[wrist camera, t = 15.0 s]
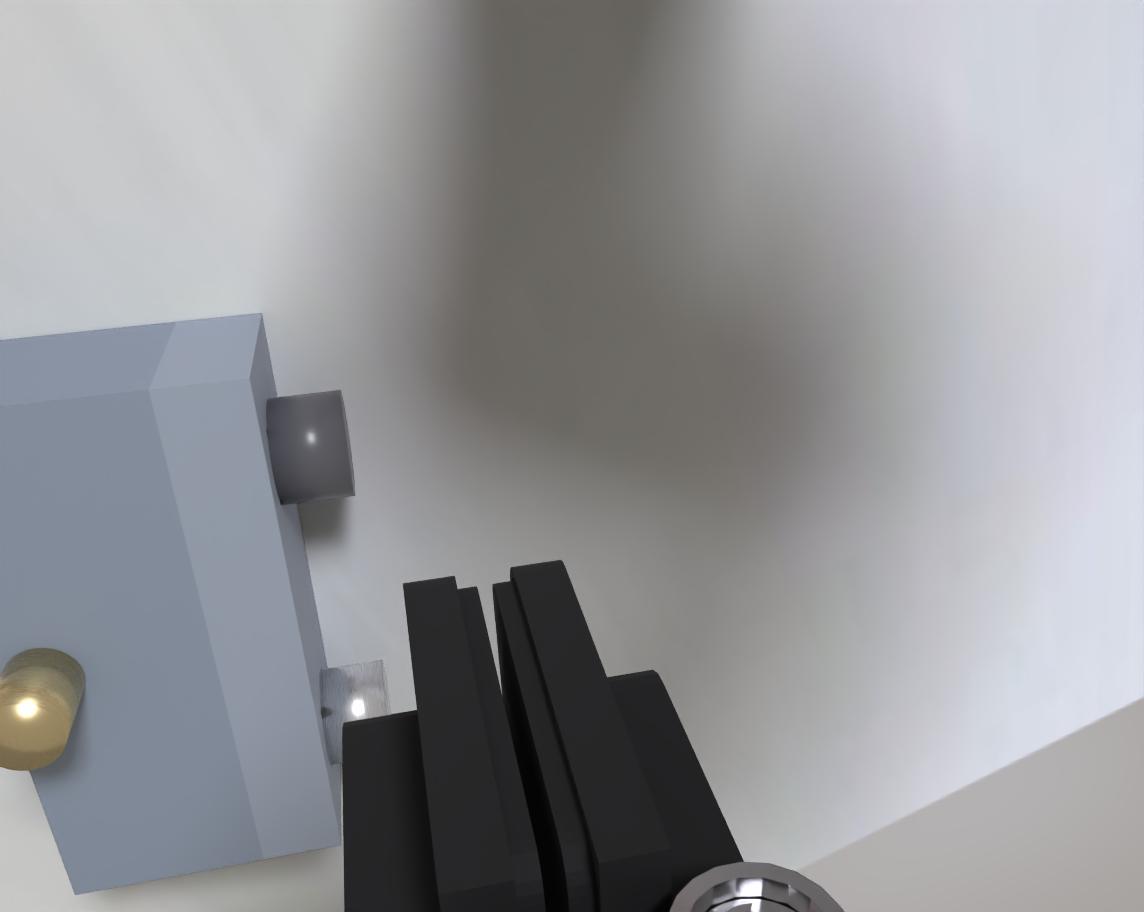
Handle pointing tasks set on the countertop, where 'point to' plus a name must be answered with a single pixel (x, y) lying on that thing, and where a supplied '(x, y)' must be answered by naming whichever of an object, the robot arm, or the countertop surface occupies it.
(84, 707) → the control box
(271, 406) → the knob black
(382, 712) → the knob aluminium
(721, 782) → the countertop surface
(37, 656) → the brass dial
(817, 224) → the countertop surface
